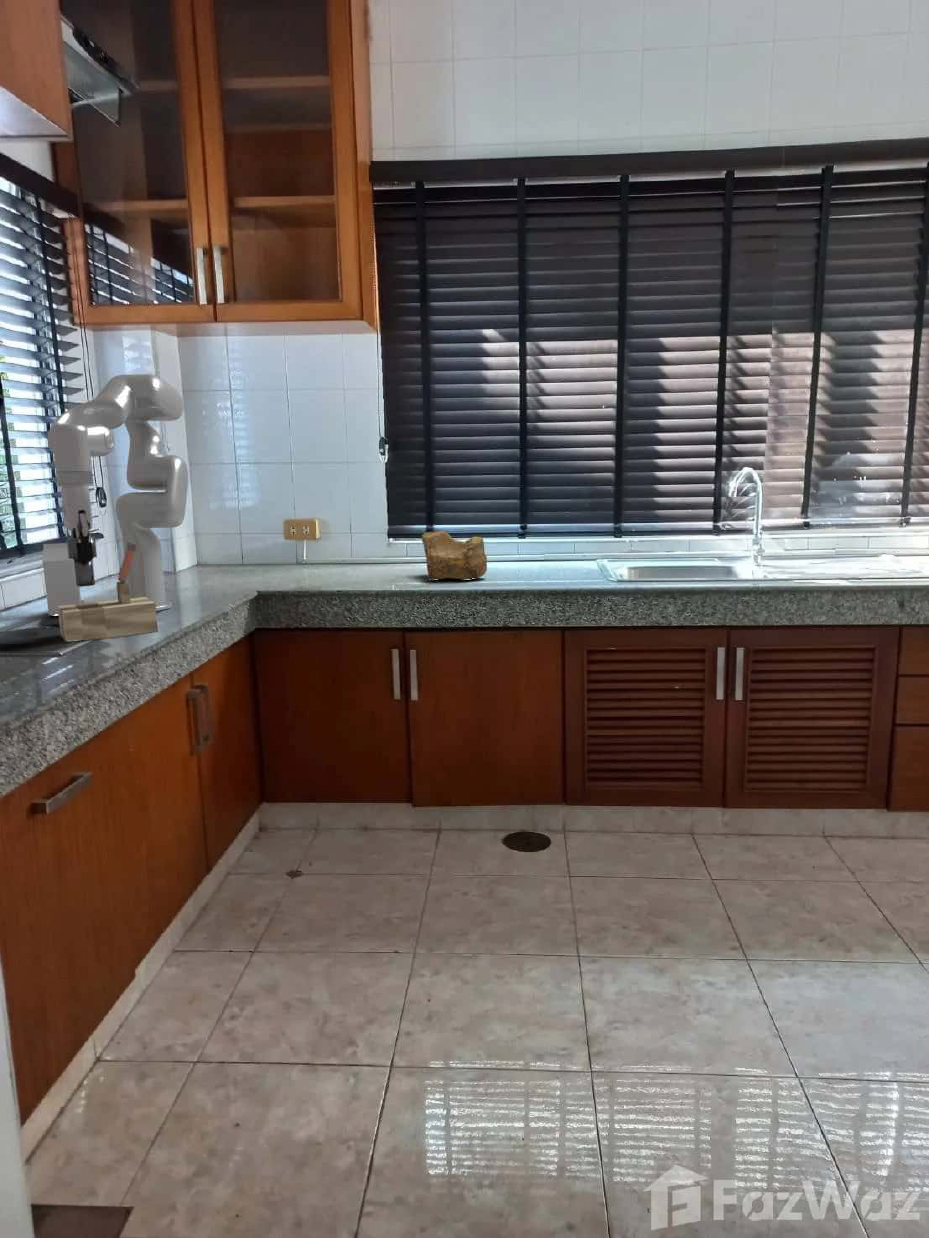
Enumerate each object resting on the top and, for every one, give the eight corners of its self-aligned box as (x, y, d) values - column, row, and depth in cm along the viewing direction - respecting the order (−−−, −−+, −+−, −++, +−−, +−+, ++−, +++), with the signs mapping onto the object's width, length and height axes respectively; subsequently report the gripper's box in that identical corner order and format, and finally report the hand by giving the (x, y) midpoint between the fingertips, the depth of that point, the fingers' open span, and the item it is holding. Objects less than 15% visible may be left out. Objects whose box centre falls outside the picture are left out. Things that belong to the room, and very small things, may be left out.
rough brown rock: (403, 583, 273) (401, 537, 269) (430, 571, 287) (429, 528, 282) (465, 590, 262) (464, 543, 257) (490, 578, 275) (490, 533, 271)
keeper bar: (127, 542, 202) (132, 543, 203) (117, 580, 202) (122, 581, 203) (132, 543, 198) (136, 545, 199) (121, 582, 199) (126, 583, 199)
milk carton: (78, 616, 222) (70, 544, 219) (49, 617, 221) (40, 545, 217) (82, 611, 229) (74, 541, 225) (53, 612, 227) (45, 542, 223)
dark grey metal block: (69, 584, 197) (64, 537, 195) (97, 582, 200) (92, 535, 198) (73, 587, 192) (68, 539, 190) (101, 585, 196) (97, 538, 193)
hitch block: (60, 635, 200) (55, 586, 198) (148, 624, 211) (143, 577, 208) (67, 643, 192) (61, 592, 189) (157, 631, 202) (153, 583, 200)
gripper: (51, 479, 197) (59, 556, 200) (62, 481, 182) (71, 563, 186) (86, 478, 201) (93, 553, 204) (99, 480, 186) (107, 561, 190)
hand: (83, 557), depth 195 cm, fingers closed on dark grey metal block, 6 cm apart
